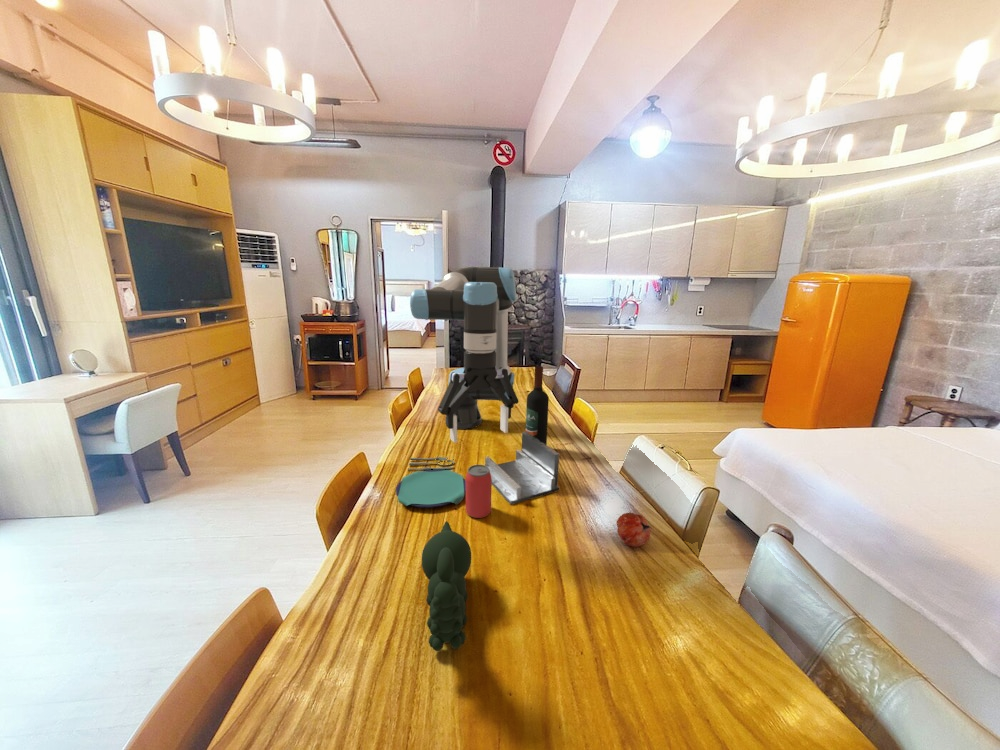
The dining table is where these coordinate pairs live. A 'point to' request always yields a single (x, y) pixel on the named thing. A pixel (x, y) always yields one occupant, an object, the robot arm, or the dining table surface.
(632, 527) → the pomegranate
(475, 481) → the beer can
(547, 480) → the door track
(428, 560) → the toy figurine
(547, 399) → the wine bottle
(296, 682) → the dining table surface
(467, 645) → the dining table surface
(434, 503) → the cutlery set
